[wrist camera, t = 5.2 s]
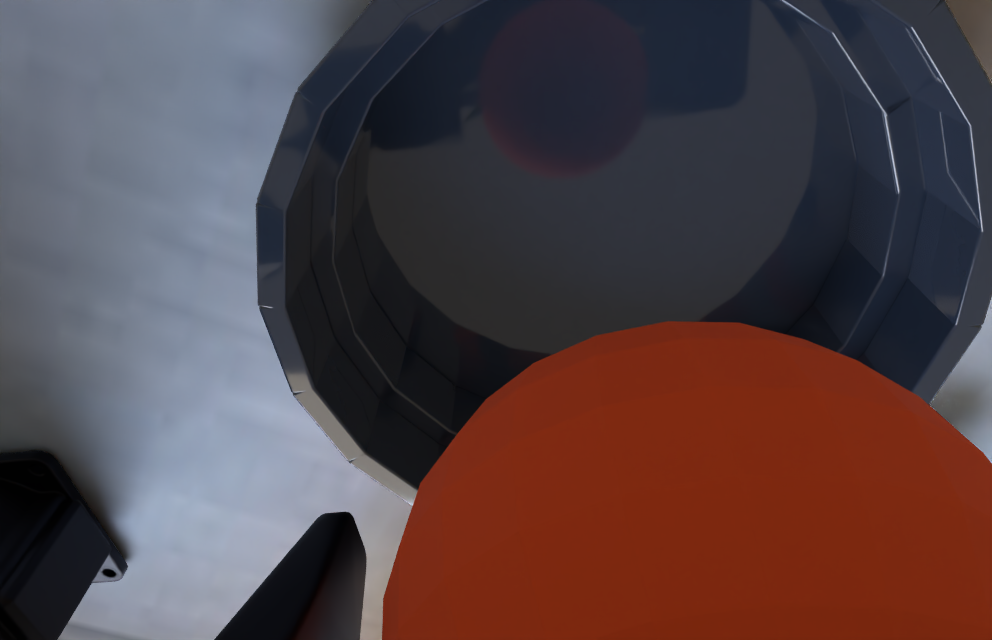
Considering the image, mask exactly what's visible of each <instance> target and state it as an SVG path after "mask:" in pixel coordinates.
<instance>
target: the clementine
mask: <svg viewBox="0 0 992 640" xmlns="http://www.w3.org/2000/svg"><path fill="white" fill-rule="evenodd" d="M382 640H992V463H991V462H990V461H989V460H988V458H987V457H986V456H985V455H984V453H983V452H982V451H980V450H979V449H978V448H977V447H976V446H975V445H974V444H972V443H971V442H970V441H969V440H968V439H967V438H966V437H965V436H963V435H962V434H961V433H960V432H959V431H958V430H957V429H955V428H954V427H953V426H952V425H951V424H950V423H949V422H948V421H946V420H945V419H944V418H943V417H942V416H941V415H940V414H938V413H937V412H936V411H935V410H934V409H933V408H932V407H931V406H929V405H928V404H927V403H926V402H925V401H924V400H923V399H921V398H920V397H919V396H917V395H916V394H914V393H912V392H910V391H909V390H907V389H905V388H904V387H902V386H900V385H898V384H897V383H895V382H893V381H892V380H890V379H888V378H886V377H885V376H883V375H881V374H880V373H878V372H876V371H874V370H873V369H871V368H869V367H868V366H866V365H864V364H862V363H861V362H859V361H857V360H855V359H852V358H850V357H847V356H845V355H842V354H840V353H837V352H835V351H832V350H830V349H827V348H825V347H822V346H820V345H817V344H815V343H812V342H810V341H807V340H805V339H801V338H797V337H793V336H790V335H786V334H782V333H778V332H774V331H770V330H766V329H762V328H758V327H754V326H751V325H747V324H743V323H733V322H677V321H667V322H662V323H657V324H652V325H647V326H641V327H636V328H631V329H626V330H621V331H616V332H611V333H606V334H601V335H596V336H594V337H592V338H590V339H587V340H585V341H583V342H580V343H578V344H576V345H574V346H571V347H569V348H567V349H564V350H562V351H560V352H558V353H555V354H553V355H551V356H548V357H546V358H544V359H542V360H539V361H537V362H535V363H533V364H532V365H531V366H529V367H528V368H527V369H525V370H524V371H523V372H521V373H520V374H519V375H517V376H516V377H515V378H513V379H512V380H511V381H509V382H508V383H507V384H505V385H504V386H503V387H501V388H500V389H499V390H498V391H496V392H495V393H494V394H492V395H491V396H490V397H488V398H487V399H486V400H485V401H484V402H483V403H482V405H481V406H480V407H479V408H478V409H477V411H476V412H475V413H474V414H473V416H472V417H471V418H470V419H469V420H468V422H467V423H466V424H465V425H464V426H463V428H462V429H461V430H460V431H459V433H458V434H457V435H456V436H455V438H454V439H453V440H452V442H451V443H450V444H449V446H448V447H447V448H446V450H445V451H444V452H443V454H442V455H441V456H440V458H439V459H438V460H437V462H436V463H435V464H434V466H433V467H432V468H431V470H430V471H429V472H428V474H427V475H426V476H425V478H424V479H423V480H422V482H421V483H420V486H419V489H418V492H417V495H416V498H415V501H414V504H413V507H412V510H411V513H410V516H409V519H408V522H407V525H406V528H405V531H404V534H403V537H402V540H401V543H400V546H399V549H398V552H397V555H396V559H395V562H394V565H393V568H392V572H391V575H390V578H389V582H388V585H387V588H386V591H385V595H384V598H383V628H382Z"/></svg>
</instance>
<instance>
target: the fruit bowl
mask: <svg viewBox="0 0 992 640" xmlns="http://www.w3.org/2000/svg"><path fill="white" fill-rule="evenodd" d="M256 237H257V288H258V306H259V309H260V312H261V314H262V317H263V320H264V322H265V325H266V327H267V330H268V332H269V335H270V338H271V340H272V343H273V345H274V348H275V351H276V353H277V356H278V358H279V361H280V363H281V366H282V369H283V371H284V374H285V376H286V379H287V381H288V384H289V387H290V389H291V392H292V393H293V396H294V397H295V398H296V399H297V401H298V402H299V403H300V404H301V405H302V407H303V408H304V409H305V410H306V411H307V413H308V414H309V415H310V416H311V418H312V419H313V420H314V421H315V422H316V424H317V425H318V426H319V427H320V428H321V430H322V431H323V432H324V433H325V435H326V436H327V437H328V438H329V439H330V441H331V442H332V443H333V444H334V445H335V447H336V448H337V449H338V450H339V452H340V453H341V454H342V455H343V456H344V458H345V459H346V460H347V461H349V463H350V464H351V465H353V466H354V467H356V468H357V469H359V470H360V471H362V472H363V473H365V474H366V475H367V476H369V477H370V478H372V479H373V480H375V481H376V482H378V483H379V484H381V485H382V486H384V487H385V488H386V489H388V490H389V491H391V492H392V493H394V494H395V495H397V496H398V497H400V498H401V499H402V500H404V501H405V502H407V503H408V504H410V505H411V506H413V504H414V501H415V498H416V495H417V492H418V489H419V486H420V483H421V482H422V480H423V479H424V478H425V476H426V475H427V474H428V472H429V471H430V470H431V468H432V467H433V466H434V464H435V463H436V462H437V460H438V459H439V458H440V456H441V455H442V454H443V452H444V451H445V450H446V448H447V447H448V446H449V444H450V443H451V442H452V440H453V439H454V438H455V436H456V435H457V434H458V433H459V431H460V430H461V429H462V428H463V426H464V425H465V424H466V423H467V422H468V420H469V419H470V418H471V417H472V416H473V414H474V413H475V412H476V411H477V409H478V408H479V407H480V406H481V405H482V403H483V402H484V401H485V400H486V399H487V398H488V397H490V396H491V395H492V394H494V393H495V392H496V391H498V390H499V389H500V388H501V387H503V386H504V385H505V384H507V383H508V382H509V381H511V380H512V379H513V378H515V377H516V376H517V375H519V374H520V373H521V372H523V371H524V370H525V369H527V368H528V367H529V366H531V365H532V364H533V363H535V362H537V361H539V360H542V359H544V358H546V357H548V356H551V355H553V354H555V353H558V352H560V351H562V350H564V349H567V348H569V347H571V346H574V345H576V344H578V343H580V342H583V341H585V340H587V339H590V338H592V337H594V336H596V335H601V334H606V333H611V332H616V331H621V330H626V329H631V328H636V327H641V326H647V325H652V324H657V323H662V322H667V321H677V322H733V323H743V324H747V325H751V326H754V327H758V328H762V329H766V330H770V331H774V332H778V333H782V334H786V335H790V336H793V337H797V338H801V339H805V340H807V341H810V342H812V343H815V344H817V345H820V346H822V347H825V348H827V349H830V350H832V351H835V352H837V353H840V354H842V355H845V356H847V357H850V358H852V359H855V360H857V361H859V362H861V363H862V364H864V365H866V366H868V367H869V368H871V369H873V370H874V371H876V372H878V373H880V374H881V375H883V376H885V377H886V378H888V379H890V380H892V381H893V382H895V383H897V384H898V385H900V386H902V387H904V388H905V389H907V390H909V391H910V392H912V393H914V394H916V395H917V396H919V397H920V398H921V399H923V400H924V401H925V402H926V403H927V404H928V405H929V404H930V402H931V401H932V400H933V398H934V397H935V395H936V394H937V392H938V391H939V389H940V388H941V386H942V385H943V384H944V382H945V381H946V379H947V378H948V376H949V375H950V373H951V372H952V370H953V369H954V367H955V366H956V365H957V363H958V362H959V360H960V359H961V357H962V356H963V354H964V353H965V351H966V350H967V349H968V347H969V346H970V344H971V343H972V341H973V340H974V338H975V337H976V335H977V334H978V332H979V331H980V330H981V325H983V323H984V320H985V317H986V314H987V310H988V307H989V304H990V300H991V297H992V84H991V82H990V80H989V78H988V76H987V75H986V73H985V71H984V69H983V68H982V66H981V64H980V62H979V60H978V59H977V57H976V55H975V53H974V51H973V50H972V48H971V46H970V44H969V42H968V41H967V39H966V37H965V35H964V33H963V32H962V30H961V28H960V26H959V25H958V23H957V21H956V19H955V17H954V16H953V14H952V12H951V10H950V8H949V7H948V5H947V3H946V1H945V0H372V1H371V3H370V4H369V5H368V6H367V7H366V9H365V10H364V11H363V12H362V13H361V14H360V16H359V17H358V18H357V19H356V20H355V21H354V23H353V24H352V25H351V26H350V27H349V28H348V30H347V31H346V32H345V33H344V34H343V36H342V37H341V38H340V39H339V40H338V41H337V43H336V44H335V45H334V46H333V47H332V48H331V50H330V51H329V52H328V53H327V54H326V55H325V57H324V58H323V59H322V60H321V61H320V63H319V64H318V65H317V66H316V67H315V68H314V70H313V71H312V72H311V73H310V74H309V75H308V77H307V78H306V79H305V80H304V81H303V82H302V84H301V85H300V86H299V87H298V91H297V92H296V93H295V95H294V98H293V100H292V103H291V106H290V109H289V112H288V114H287V117H286V120H285V123H284V125H283V128H282V131H281V134H280V137H279V139H278V142H277V145H276V148H275V150H274V153H273V156H272V159H271V162H270V164H269V167H268V170H267V173H266V175H265V178H264V181H263V184H262V187H261V189H260V192H259V195H258V198H257V203H256Z"/></svg>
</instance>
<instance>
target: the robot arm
mask: <svg viewBox="0 0 992 640" xmlns="http://www.w3.org/2000/svg"><path fill="white" fill-rule="evenodd" d="M127 568H128V566H127V563H126V562H125V560H124V559H123V557H122V556H121V554H120V553H119V551H118V550H117V548H116V547H115V545H114V544H113V542H112V541H111V539H110V538H109V536H108V535H107V533H106V532H105V531H104V529H103V528H102V526H101V525H100V523H99V522H98V520H97V519H96V517H95V516H94V514H93V513H92V511H91V510H90V508H89V507H88V505H87V504H86V502H85V501H84V499H83V498H82V496H81V495H80V493H79V492H78V490H77V489H76V488H75V486H74V485H73V483H72V482H71V480H70V479H69V477H68V476H67V474H66V473H65V471H64V470H63V468H62V467H61V465H60V464H59V462H58V461H57V460H56V459H55V457H54V456H52V455H51V454H49V453H47V452H44V451H26V452H16V453H5V454H0V640H57V639H58V638H59V636H60V635H61V633H62V631H63V630H64V628H65V626H66V625H67V623H68V621H69V620H70V618H71V616H72V615H73V613H74V611H75V610H76V608H77V606H78V605H79V603H80V602H81V600H82V598H83V597H84V595H85V593H86V592H87V590H88V588H89V587H90V585H91V583H98V582H112V581H118V580H120V579H122V577H123V576H124V574H125V572H126V570H127ZM365 575H366V552H365V548H364V545H363V542H362V540H361V537H360V534H359V531H358V529H357V526H356V523H355V520H354V518H353V516H352V515H351V514H350V513H349V512H336V513H325V514H323V515H321V516H320V517H318V518H317V519H316V521H315V522H314V523H313V524H312V525H311V526H310V528H309V529H308V530H307V531H306V532H305V533H304V535H303V536H302V537H301V538H300V539H299V541H298V542H297V543H296V544H295V545H294V546H293V548H292V549H291V550H290V551H289V552H288V553H287V555H286V556H285V557H284V558H283V559H282V561H281V562H280V563H279V564H278V565H277V566H276V568H275V569H274V570H273V571H272V572H271V574H270V575H269V576H268V577H267V578H266V579H265V581H264V582H263V583H262V584H261V585H260V586H259V588H258V589H257V590H256V591H255V592H254V594H253V595H252V596H251V597H250V598H249V599H248V601H247V602H246V603H245V604H244V605H243V606H242V608H241V609H240V610H239V611H238V612H237V614H236V615H235V616H234V617H233V618H232V619H231V621H230V622H229V623H228V624H227V625H226V627H225V628H224V629H223V630H222V631H221V632H220V634H219V635H218V636H217V637H216V638H215V639H214V640H360V630H361V619H362V608H363V597H364V586H365Z"/></svg>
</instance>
